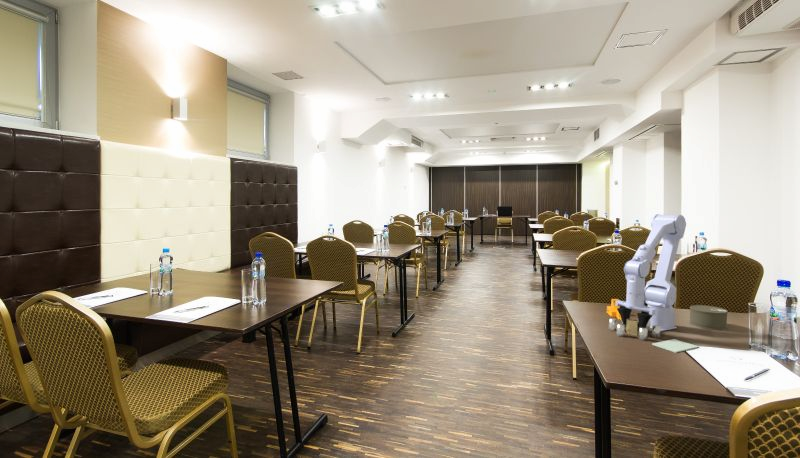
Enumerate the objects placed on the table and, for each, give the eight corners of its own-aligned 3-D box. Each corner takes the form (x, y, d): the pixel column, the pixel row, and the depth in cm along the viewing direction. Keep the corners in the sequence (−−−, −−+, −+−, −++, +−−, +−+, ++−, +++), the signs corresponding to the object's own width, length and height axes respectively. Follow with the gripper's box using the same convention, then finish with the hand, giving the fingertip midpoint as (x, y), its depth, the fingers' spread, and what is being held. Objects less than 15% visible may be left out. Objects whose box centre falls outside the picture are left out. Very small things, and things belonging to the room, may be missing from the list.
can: (688, 319, 168) (689, 303, 168) (725, 324, 162) (726, 307, 161) (689, 326, 159) (690, 309, 158) (728, 332, 152) (729, 314, 151)
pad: (674, 340, 142) (674, 339, 142) (698, 347, 135) (698, 346, 135) (651, 344, 138) (651, 343, 138) (675, 352, 130) (675, 351, 130)
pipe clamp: (606, 313, 178) (607, 298, 177) (617, 313, 177) (617, 299, 177) (616, 321, 166) (616, 305, 166) (627, 321, 165) (628, 306, 165)
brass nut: (632, 330, 153) (633, 317, 153) (643, 334, 149) (644, 320, 149) (623, 332, 151) (624, 318, 151) (634, 335, 147) (635, 322, 147)
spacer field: (630, 324, 160) (631, 314, 160) (668, 336, 147) (668, 325, 146) (600, 330, 153) (601, 319, 153) (637, 342, 140) (637, 330, 140)
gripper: (610, 290, 154) (609, 325, 155) (647, 298, 141) (645, 336, 142) (623, 288, 157) (621, 322, 158) (660, 296, 144) (658, 334, 145)
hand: (633, 329), depth 150 cm, fingers open, 6 cm apart
